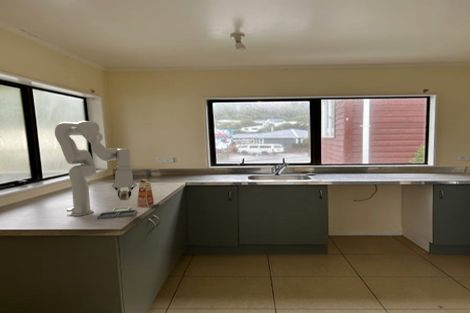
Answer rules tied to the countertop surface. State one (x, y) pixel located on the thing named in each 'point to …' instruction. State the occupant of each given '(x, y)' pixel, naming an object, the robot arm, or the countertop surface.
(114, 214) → the dish left
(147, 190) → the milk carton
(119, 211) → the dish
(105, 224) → the countertop surface
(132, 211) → the dish right
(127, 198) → the letter cube
